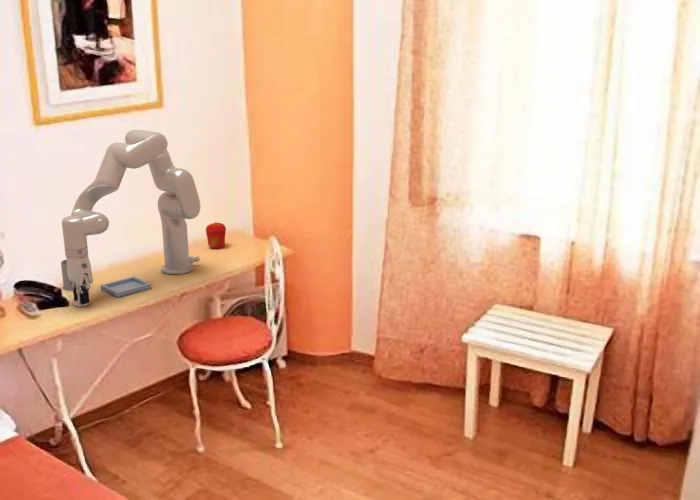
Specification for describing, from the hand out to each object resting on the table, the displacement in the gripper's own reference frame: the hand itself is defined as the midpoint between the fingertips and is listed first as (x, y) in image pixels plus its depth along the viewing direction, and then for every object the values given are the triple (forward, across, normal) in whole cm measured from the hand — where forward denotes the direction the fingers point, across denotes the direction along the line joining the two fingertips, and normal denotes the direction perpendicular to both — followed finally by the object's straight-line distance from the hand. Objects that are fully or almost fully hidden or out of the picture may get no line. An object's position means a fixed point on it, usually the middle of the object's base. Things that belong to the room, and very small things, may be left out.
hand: (81, 301), depth 285 cm
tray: (+1, +3, -19) cm, 19 cm away
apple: (+1, +23, -74) cm, 78 cm away
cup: (+2, +19, -7) cm, 20 cm away
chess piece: (+1, 0, 0) cm, 1 cm away
